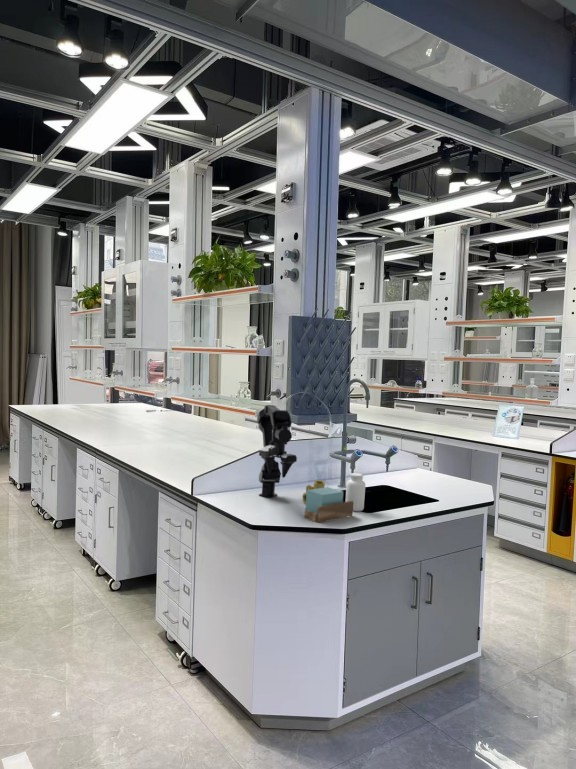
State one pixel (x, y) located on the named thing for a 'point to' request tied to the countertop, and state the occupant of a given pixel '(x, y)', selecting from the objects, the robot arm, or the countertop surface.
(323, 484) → the ball valve
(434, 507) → the countertop surface
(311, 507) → the crate
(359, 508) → the pill bottle
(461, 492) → the countertop surface
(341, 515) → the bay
